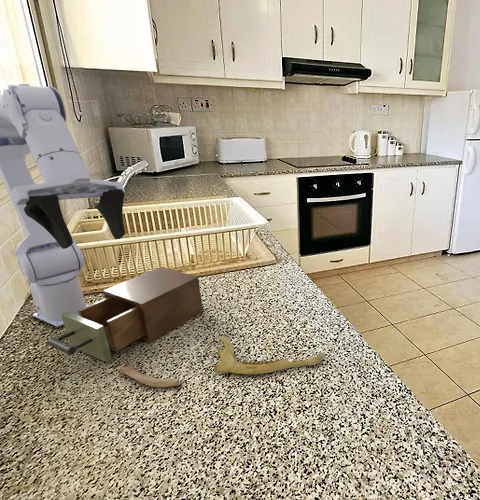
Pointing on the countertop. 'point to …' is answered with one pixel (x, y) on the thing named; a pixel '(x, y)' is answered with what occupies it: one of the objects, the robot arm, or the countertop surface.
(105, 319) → the drawer
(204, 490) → the countertop surface
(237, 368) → the jawbone
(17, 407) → the countertop surface
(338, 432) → the countertop surface
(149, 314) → the cabinet
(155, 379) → the bone
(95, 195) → the robot arm
